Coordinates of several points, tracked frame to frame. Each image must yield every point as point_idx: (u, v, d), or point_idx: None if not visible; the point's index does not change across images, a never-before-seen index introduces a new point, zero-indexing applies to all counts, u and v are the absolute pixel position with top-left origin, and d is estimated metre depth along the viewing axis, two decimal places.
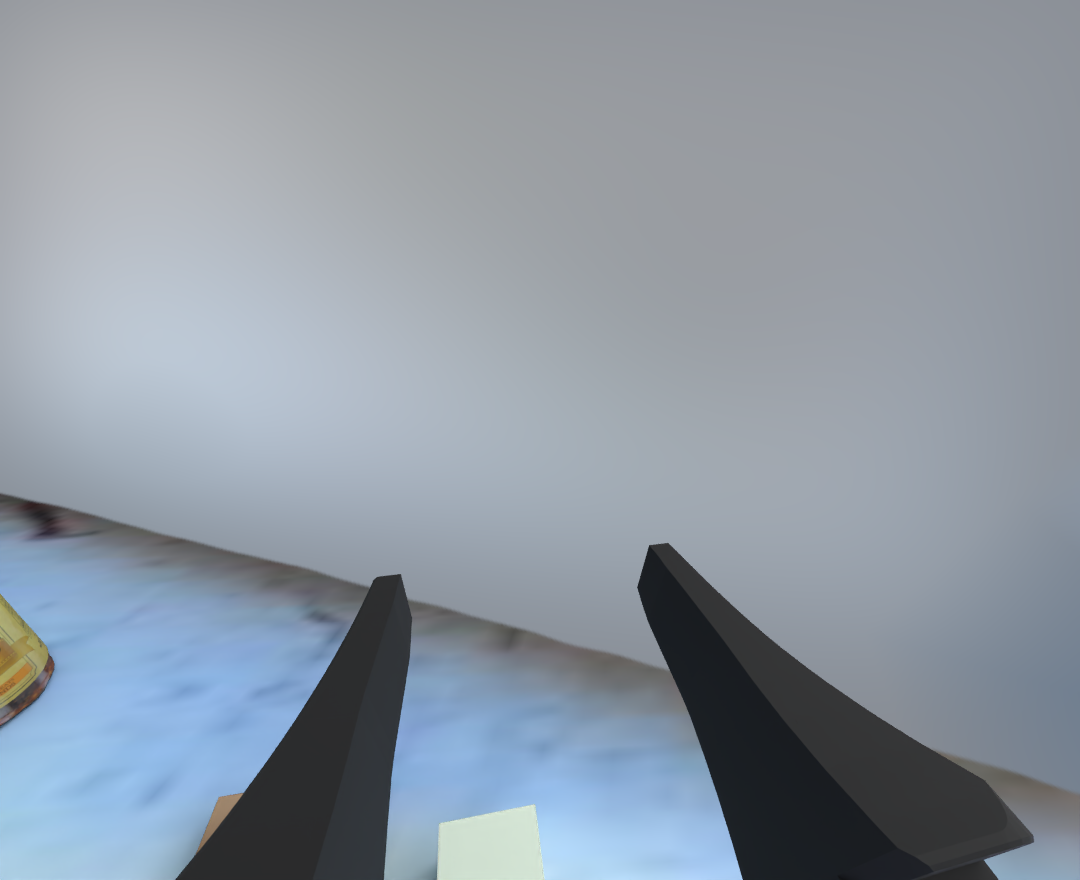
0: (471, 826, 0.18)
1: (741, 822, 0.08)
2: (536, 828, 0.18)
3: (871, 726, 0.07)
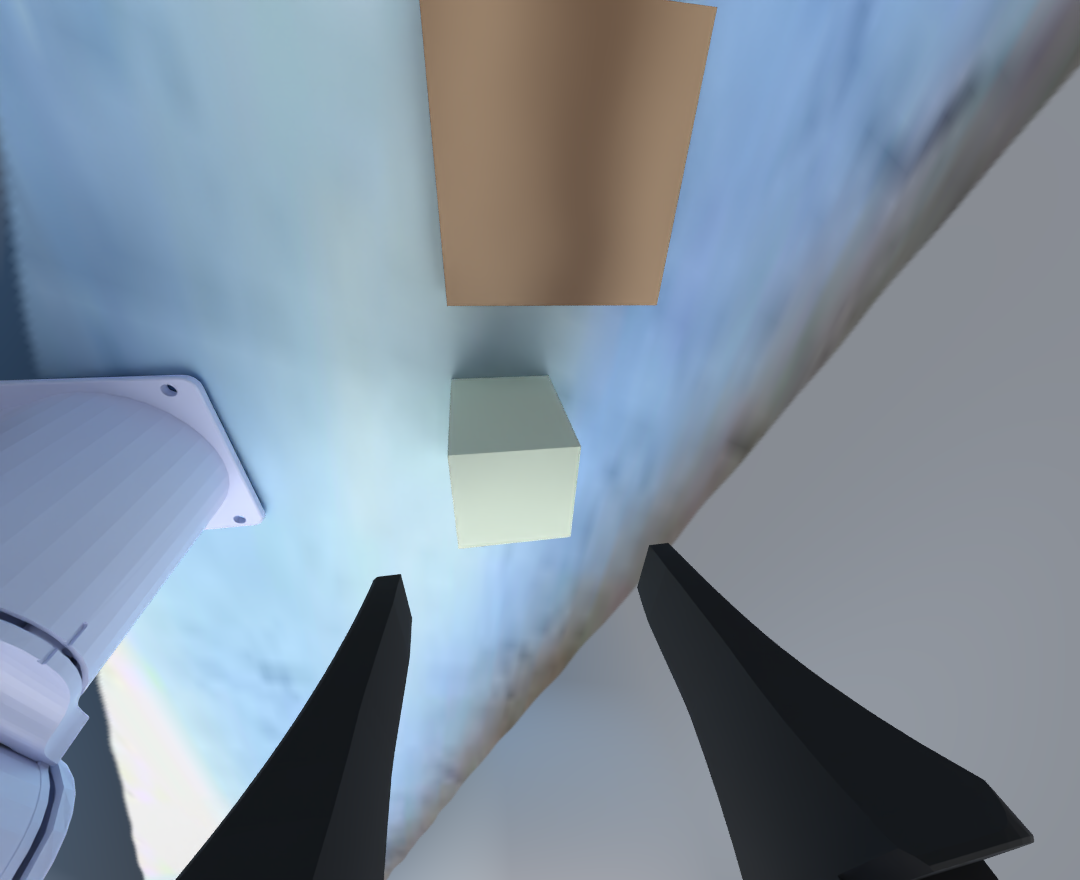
0: (568, 480, 0.14)
1: (741, 822, 0.08)
2: (550, 537, 0.16)
3: (871, 726, 0.07)
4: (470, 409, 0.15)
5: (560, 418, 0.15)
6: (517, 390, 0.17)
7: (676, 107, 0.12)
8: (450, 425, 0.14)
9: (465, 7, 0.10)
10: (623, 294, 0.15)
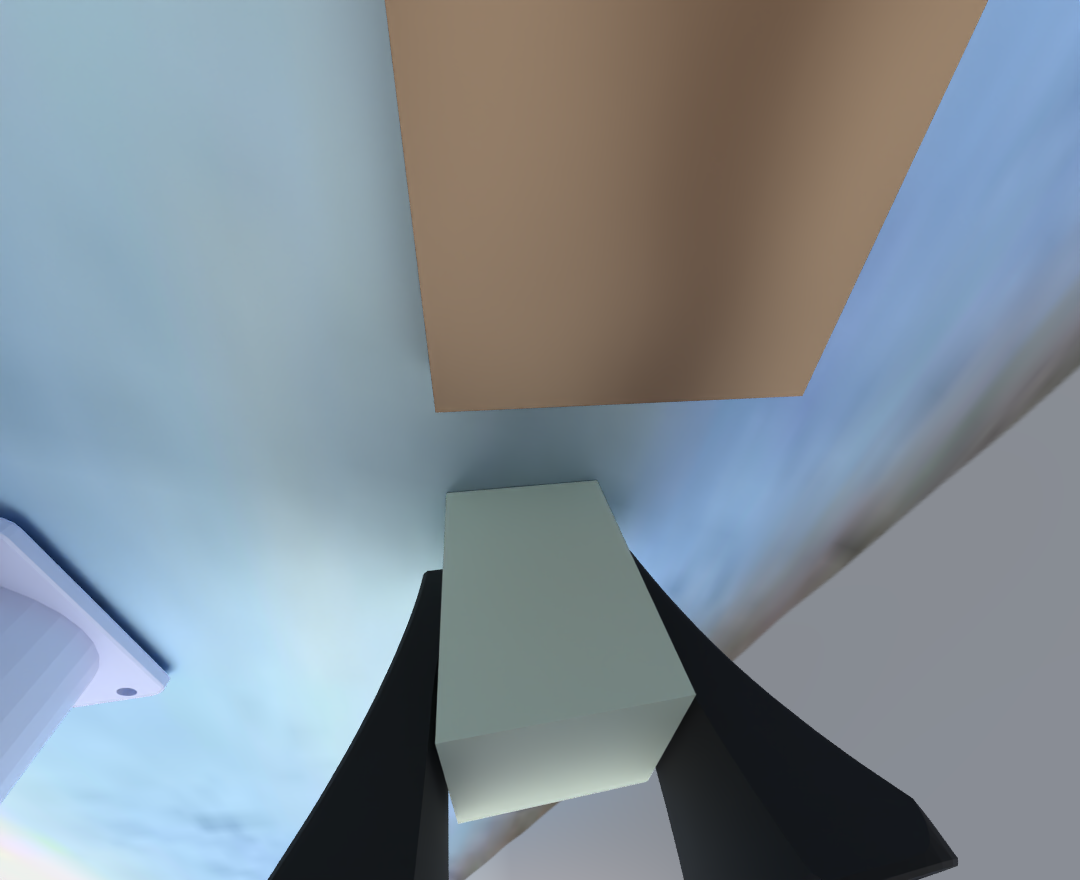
0: (661, 734, 0.08)
1: (685, 836, 0.08)
2: (614, 786, 0.09)
3: (806, 740, 0.06)
4: (479, 577, 0.09)
5: (638, 599, 0.08)
6: (553, 520, 0.10)
7: (940, 15, 0.05)
8: (443, 629, 0.08)
9: None
10: (751, 381, 0.08)
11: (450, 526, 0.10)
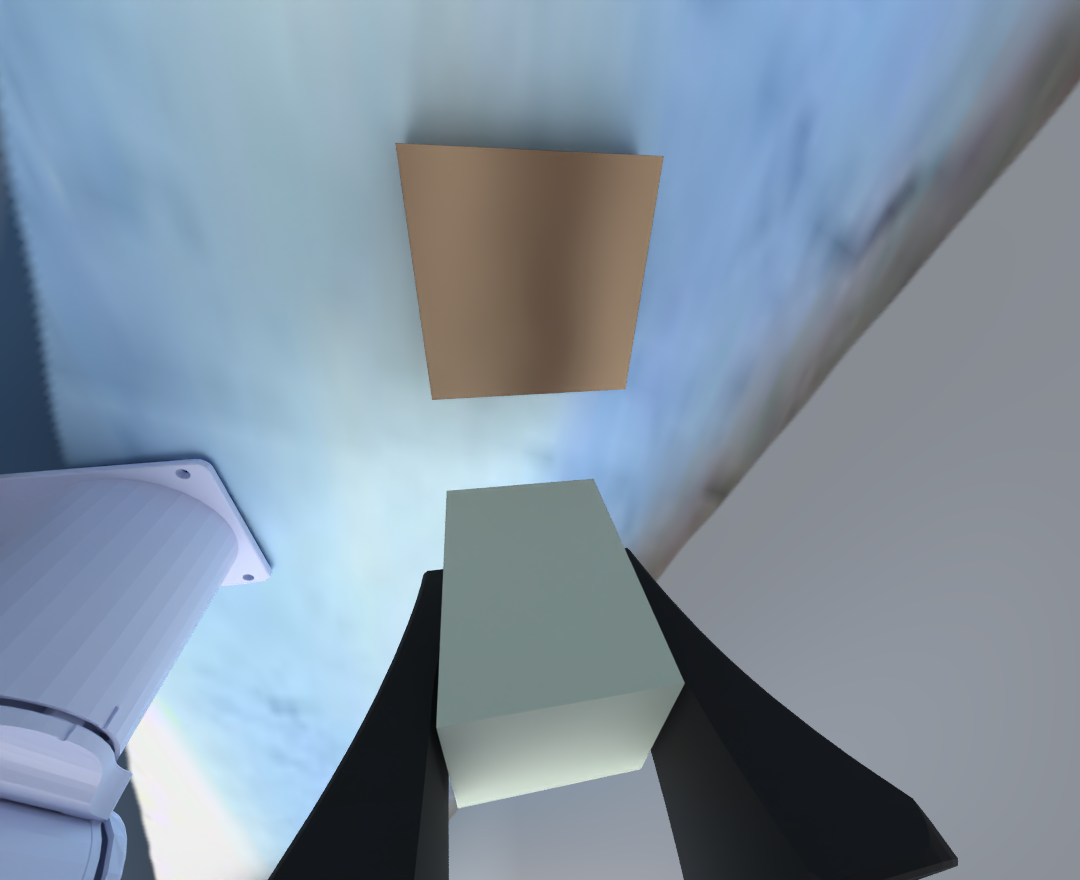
0: (652, 721, 0.08)
1: (685, 836, 0.08)
2: (608, 773, 0.09)
3: (806, 740, 0.06)
4: (478, 571, 0.09)
5: (631, 593, 0.09)
6: (551, 517, 0.11)
7: (632, 233, 0.13)
8: (443, 621, 0.08)
9: (439, 170, 0.11)
10: (593, 382, 0.16)
11: (450, 523, 0.10)
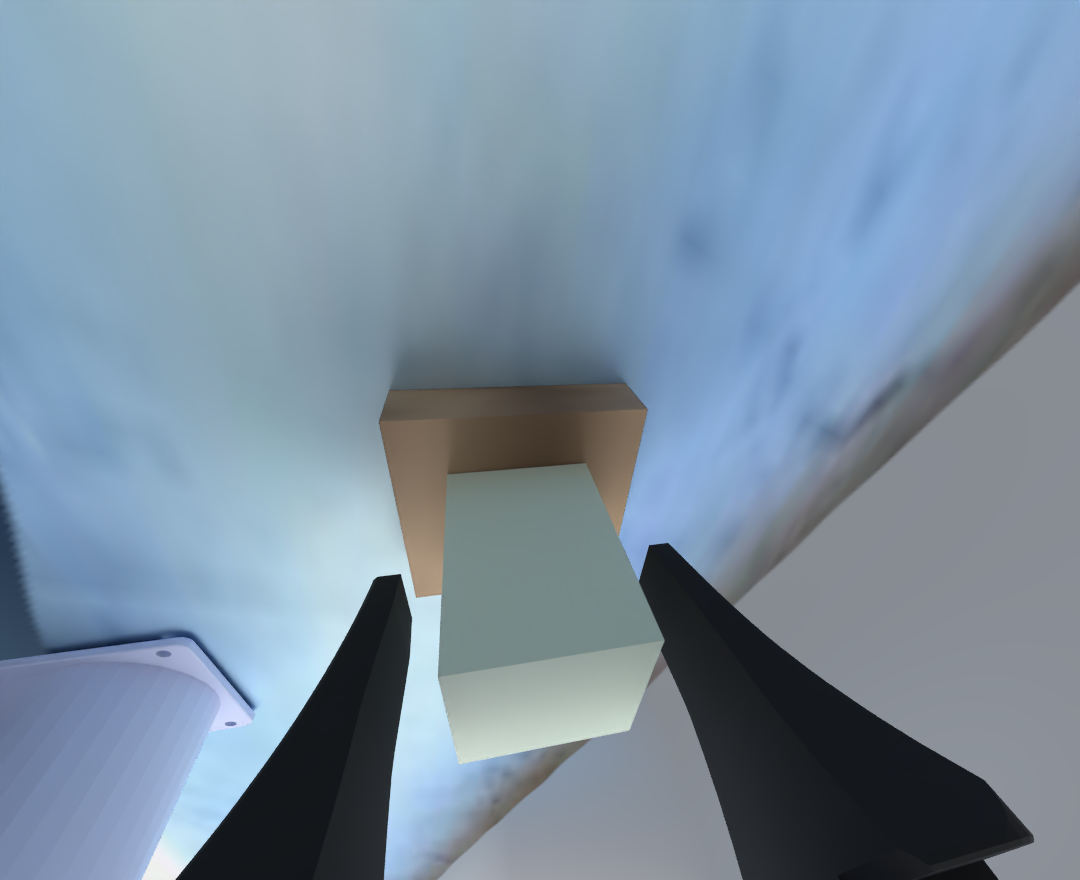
0: (637, 679, 0.09)
1: (741, 822, 0.08)
2: (599, 734, 0.10)
3: (871, 726, 0.07)
4: (477, 545, 0.10)
5: (618, 563, 0.09)
6: (545, 497, 0.11)
7: (616, 465, 0.13)
8: (444, 588, 0.09)
9: (423, 437, 0.11)
10: None
11: (450, 503, 0.11)
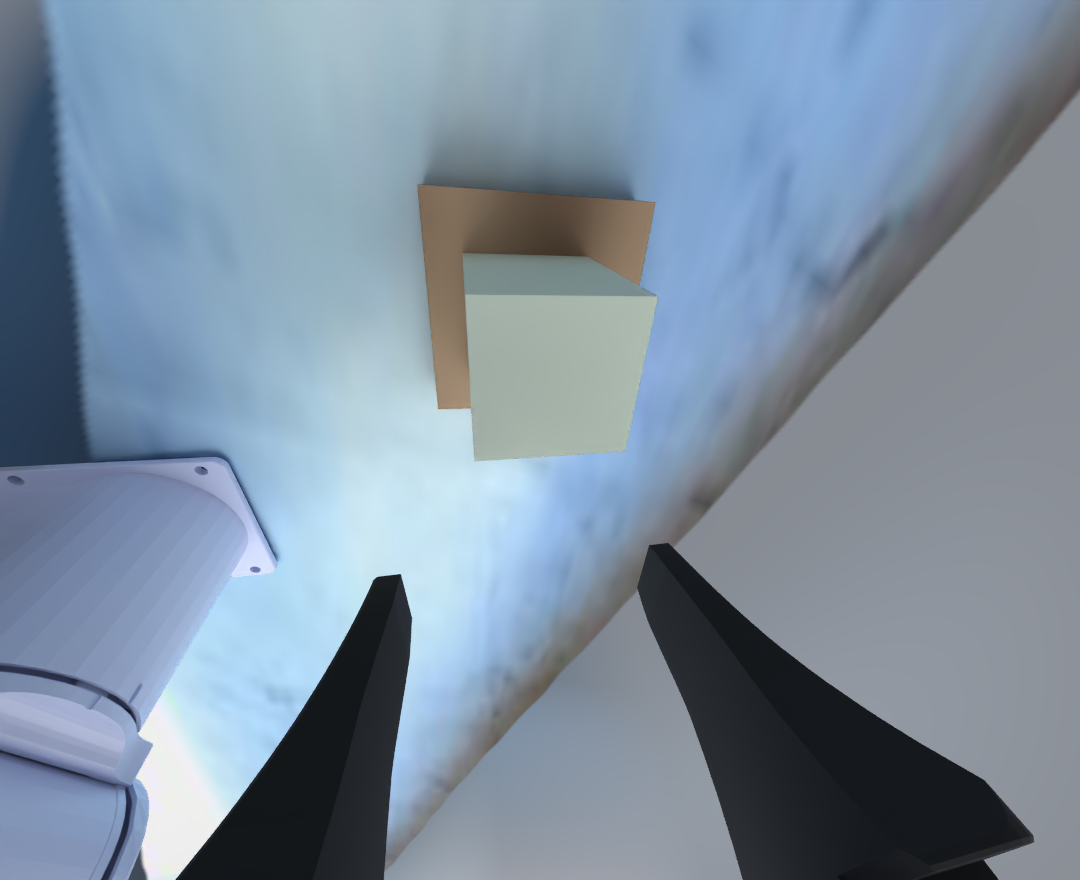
0: (634, 356, 0.10)
1: (741, 822, 0.08)
2: (598, 450, 0.11)
3: (871, 726, 0.07)
4: (492, 269, 0.11)
5: (618, 279, 0.11)
6: (551, 262, 0.12)
7: (626, 268, 0.14)
8: (466, 277, 0.10)
9: (455, 209, 0.13)
10: None
11: (467, 259, 0.12)
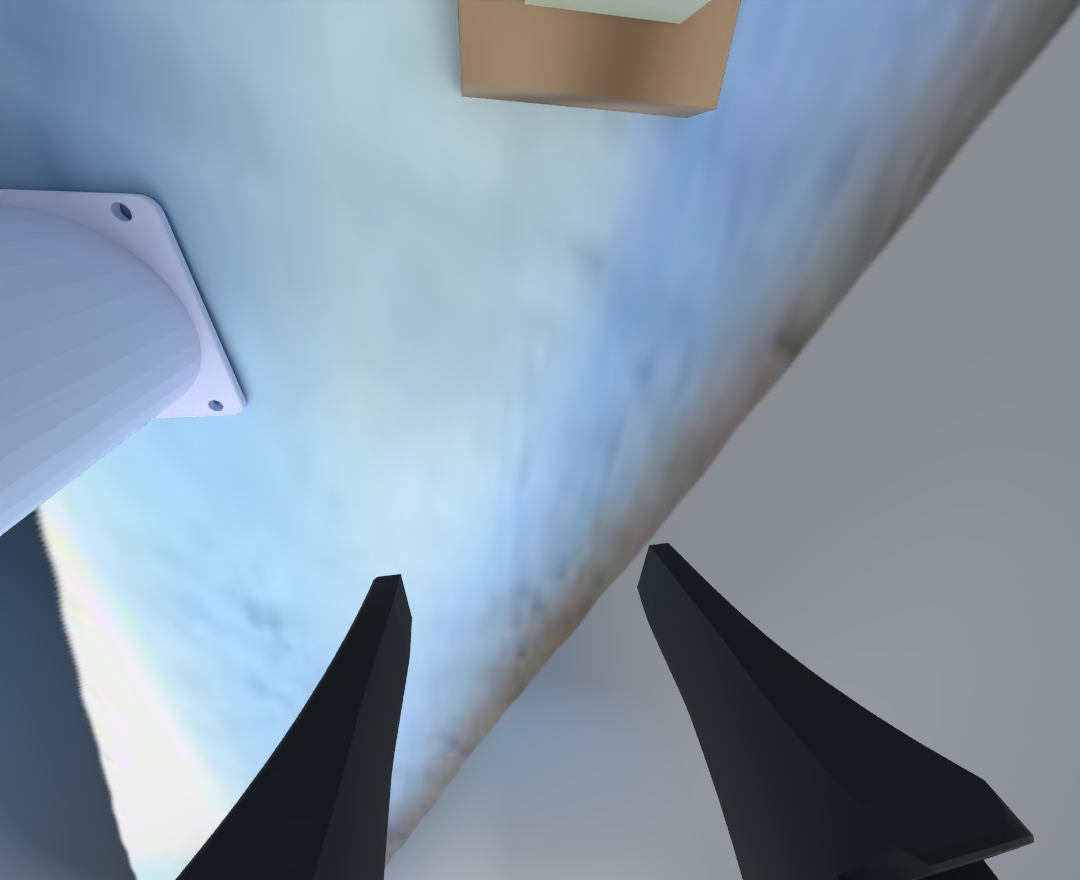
0: None
1: (741, 822, 0.08)
2: None
3: (871, 726, 0.07)
4: None
5: None
6: None
7: None
8: None
9: None
10: (678, 87, 0.12)
11: None
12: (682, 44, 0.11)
